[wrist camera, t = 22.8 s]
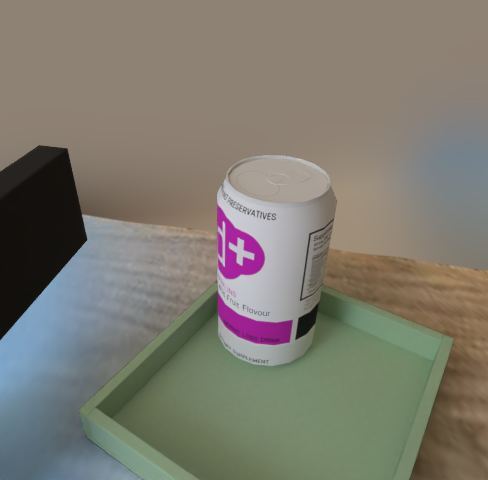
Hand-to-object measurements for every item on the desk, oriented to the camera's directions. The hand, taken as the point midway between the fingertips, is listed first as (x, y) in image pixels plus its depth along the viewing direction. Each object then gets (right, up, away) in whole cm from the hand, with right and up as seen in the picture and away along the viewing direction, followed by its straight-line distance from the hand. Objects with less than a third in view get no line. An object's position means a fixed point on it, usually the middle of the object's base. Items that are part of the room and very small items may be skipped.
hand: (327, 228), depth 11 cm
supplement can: (0, -8, +28) cm, 29 cm away
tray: (+1, -12, +23) cm, 26 cm away
